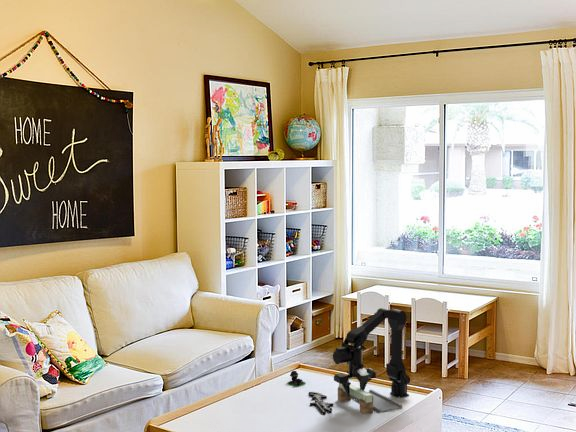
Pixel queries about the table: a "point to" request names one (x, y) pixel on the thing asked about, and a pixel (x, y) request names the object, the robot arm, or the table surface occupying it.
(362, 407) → the hook post
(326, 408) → the nameplate
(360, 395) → the rail
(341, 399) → the hook post
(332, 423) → the table surface
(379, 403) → the track
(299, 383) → the toy figurine
